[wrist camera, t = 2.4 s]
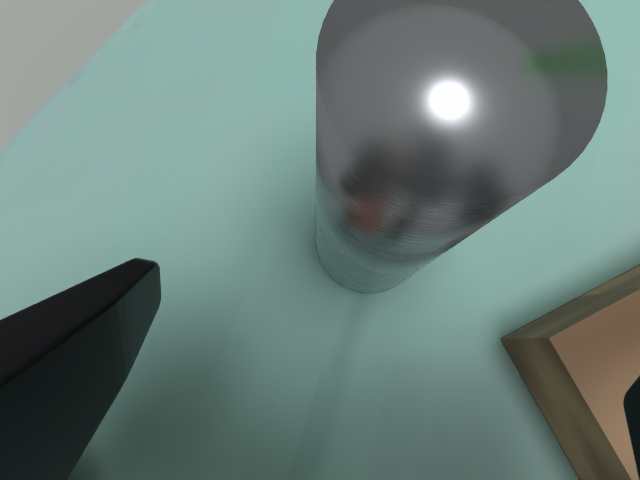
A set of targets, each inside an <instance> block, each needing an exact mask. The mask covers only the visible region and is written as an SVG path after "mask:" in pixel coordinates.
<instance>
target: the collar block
mask: <svg viewBox="0 0 640 480" xmlns="http://www.w3.org/2000/svg"><path fill="white" fill-rule="evenodd" d="M500 339H501V340H502V342H503V344H504V346H505V348H506V349H507V351H508V353H509V355H510V356H511V358H512V360H513V362H514V364H515V365H516V367H517V369H518V371H519V372H520V374H521V376H522V378H523V379H524V381H525V383H526V385H527V387H528V388H529V390H530V392H531V394H532V395H533V397H534V399H535V401H536V403H537V404H538V406H539V408H540V410H541V411H542V413H543V415H544V417H545V418H546V420H547V422H548V424H549V426H550V427H551V429H552V431H553V433H554V434H555V436H556V438H557V440H558V442H559V443H560V445H561V447H562V449H563V450H564V452H565V454H566V456H567V457H568V459H569V461H570V463H571V465H572V466H573V468H574V470H575V472H576V473H577V475H578V477H579V479H580V480H639V477H638V472H637V468H636V463H635V458H634V454H633V449H632V444H631V440H630V435H629V430H628V426H627V421H626V416H625V412H624V407H623V400H624V396H625V393H626V392H627V390H628V389H629V388H630V387H631V385H632V384H633V383H634V382H635V380H636V379H637V378H638V377H639V375H640V265H638V266H636V267H634V268H632V269H630V270H629V271H627V272H625V273H623V274H621V275H619V276H617V277H615V278H613V279H612V280H610V281H608V282H606V283H604V284H602V285H600V286H598V287H596V288H595V289H593V290H591V291H589V292H587V293H585V294H583V295H581V296H579V297H578V298H576V299H574V300H572V301H570V302H568V303H566V304H564V305H563V306H561V307H559V308H557V309H555V310H553V311H551V312H549V313H547V314H546V315H544V316H542V317H540V318H538V319H536V320H534V321H532V322H530V323H529V324H527V325H525V326H523V327H521V328H519V329H517V330H515V331H513V332H512V333H510V334H508V335H506V336H504V337H502V338H500Z"/></svg>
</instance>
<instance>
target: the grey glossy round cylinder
mask: <svg viewBox="0 0 640 480" xmlns="http://www.w3.org/2000/svg"><path fill="white" fill-rule="evenodd" d="M606 94H607V67H606V60H605V54H604V50H603V47H602V44H601V40H600V37H599V35H598V33H597V31H596V28H595V26H594V24H593V22H592V20H591V19H590V17H589V15H588V14H587V12H586V10H585V9H584V7H583V6H582V5H581V3H580V2H579V1H578V0H334V1H333V3H332V5H331V6H330V8H329V10H328V12H327V15H326V17H325V19H324V21H323V24H322V28H321V31H320V34H319V38H318V45H317V52H316V247H317V253H318V257H319V259H320V262H321V264H322V266H323V268H324V269H325V271H326V272H327V273H328V275H329V276H330V277H331V278H332V279H333V280H334V281H336V282H337V283H338V284H340V285H341V286H343V287H345V288H347V289H350V290H352V291H356V292H361V293H377V292H382V291H385V290H388V289H390V288H392V287H394V286H396V285H397V284H399V283H400V282H402V281H403V280H405V279H406V278H408V277H409V276H411V275H412V274H414V273H415V272H417V271H418V270H420V269H421V268H423V267H424V266H425V265H427V264H428V263H430V262H431V261H433V260H434V259H436V258H437V257H439V256H440V255H442V254H443V253H445V252H446V251H448V250H449V249H451V248H452V247H453V246H455V245H456V244H458V243H459V242H461V241H462V240H464V239H465V238H467V237H468V236H470V235H471V234H473V233H474V232H476V231H477V230H478V229H480V228H481V227H483V226H484V225H486V224H487V223H489V222H490V221H492V220H493V219H495V218H496V217H498V216H499V215H501V214H502V213H504V212H505V211H506V210H508V209H509V208H511V207H512V206H514V205H515V204H517V203H518V202H520V201H521V200H523V199H524V198H526V197H527V196H529V195H530V194H532V193H533V192H534V191H536V190H537V189H539V188H540V187H542V186H543V185H545V184H546V183H548V182H549V181H551V180H552V179H554V178H555V177H556V176H558V175H559V174H560V173H561V172H563V171H564V170H565V169H566V168H568V167H569V166H570V165H571V164H572V163H573V162H574V161H575V160H576V159H577V158H578V156H579V155H580V154H581V153H582V152H583V151H584V149H585V148H586V146H587V145H588V143H589V142H590V140H591V139H592V137H593V135H594V133H595V131H596V129H597V127H598V125H599V123H600V120H601V116H602V113H603V110H604V107H605V101H606Z"/></svg>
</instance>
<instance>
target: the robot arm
mask: <svg viewBox="0 0 640 480" xmlns="http://www.w3.org/2000/svg"><path fill="white" fill-rule="evenodd" d="M160 301H161V284H160V268H159V265H158V263H156V262H155V261H151V260H146V259H141V258H134V259H131V260H129V261H127V262H125V263H123V264H121V265H118V266H116V267H114V268H112V269H110V270H108V271H105V272H103V273H101V274H99V275H97V276H95V277H92V278H90V279H88V280H86V281H84V282H82V283H79V284H77V285H75V286H73V287H71V288H69V289H66V290H64V291H62V292H60V293H58V294H56V295H53V296H51V297H49V298H47V299H45V300H43V301H40V302H38V303H36V304H34V305H32V306H30V307H28V308H25V309H23V310H21V311H19V312H17V313H15V314H12V315H10V316H8V317H6V318H4V319H2V320H0V480H67V479H68V477H69V475H70V474H71V472H72V470H73V468H74V467H75V465H76V463H77V462H78V460H79V458H80V457H81V455H82V453H83V452H84V450H85V448H86V447H87V445H88V443H89V442H90V440H91V438H92V436H93V435H94V433H95V431H96V430H97V428H98V426H99V425H100V423H101V421H102V420H103V418H104V416H105V415H106V413H107V411H108V410H109V408H110V406H111V404H112V403H113V401H114V399H115V398H116V396H117V394H118V393H119V391H120V389H121V387H122V386H123V384H124V382H125V380H126V379H127V377H128V374H129V372H130V370H131V368H132V366H133V364H134V362H135V359H136V357H137V355H138V353H139V350H140V348H141V346H142V344H143V342H144V339H145V337H146V335H147V333H148V330H149V328H150V326H151V324H152V322H153V319H154V317H155V315H156V313H157V310H158V308H159V305H160ZM623 407H624V412H625V416H626V421H627V426H628V430H629V435H630V440H631V444H632V449H633V454H634V458H635V463H636V468H637V472H638V477H639V480H640V375H639V377H638V378H637V379H636V380H635V382H634V383H633V384H632V385H631V387H630V388H629V389H628V390H627V392H626V393H625V396H624V400H623Z"/></svg>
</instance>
